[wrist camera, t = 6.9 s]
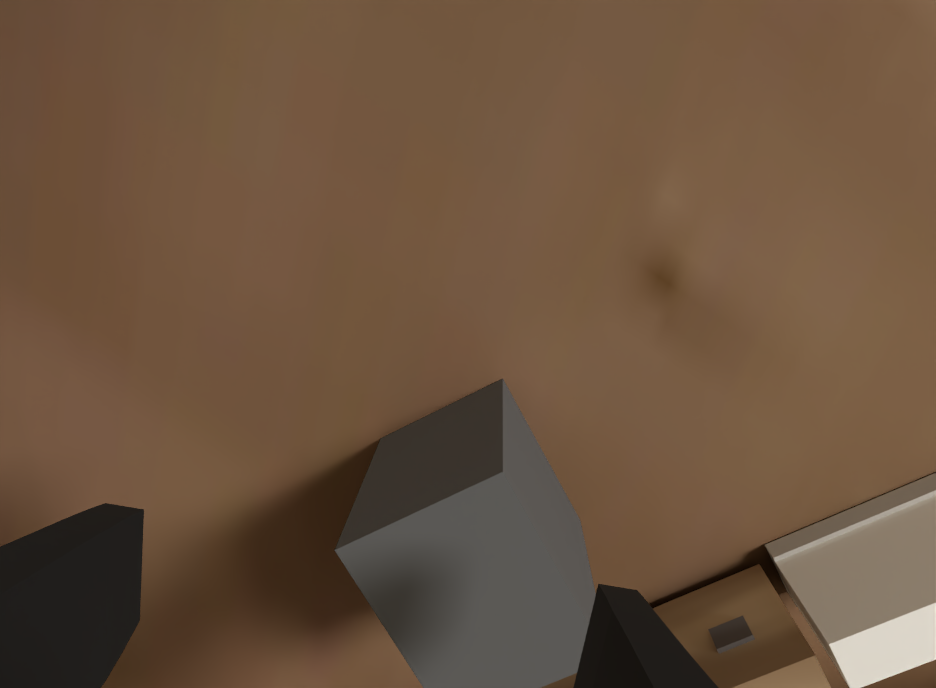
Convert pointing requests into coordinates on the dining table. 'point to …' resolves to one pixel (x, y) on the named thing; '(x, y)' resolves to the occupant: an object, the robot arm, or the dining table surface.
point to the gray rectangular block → (472, 549)
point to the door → (740, 635)
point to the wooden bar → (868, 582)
